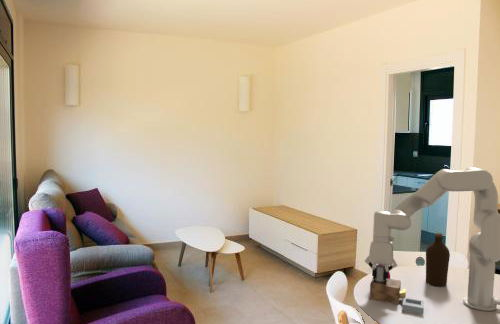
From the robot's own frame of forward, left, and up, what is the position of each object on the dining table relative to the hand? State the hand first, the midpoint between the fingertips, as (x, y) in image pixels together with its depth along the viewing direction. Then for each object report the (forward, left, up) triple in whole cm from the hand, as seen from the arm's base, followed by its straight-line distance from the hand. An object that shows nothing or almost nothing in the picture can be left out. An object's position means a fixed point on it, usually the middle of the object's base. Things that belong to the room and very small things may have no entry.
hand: (380, 278), depth 182 cm
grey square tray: (-14, +7, -8) cm, 18 cm away
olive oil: (-23, -29, -9) cm, 38 cm away
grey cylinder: (0, 0, -8) cm, 8 cm away
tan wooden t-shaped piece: (-7, 0, -8) cm, 11 cm away
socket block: (-2, 0, -8) cm, 9 cm away
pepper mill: (+1, -15, -8) cm, 17 cm away
